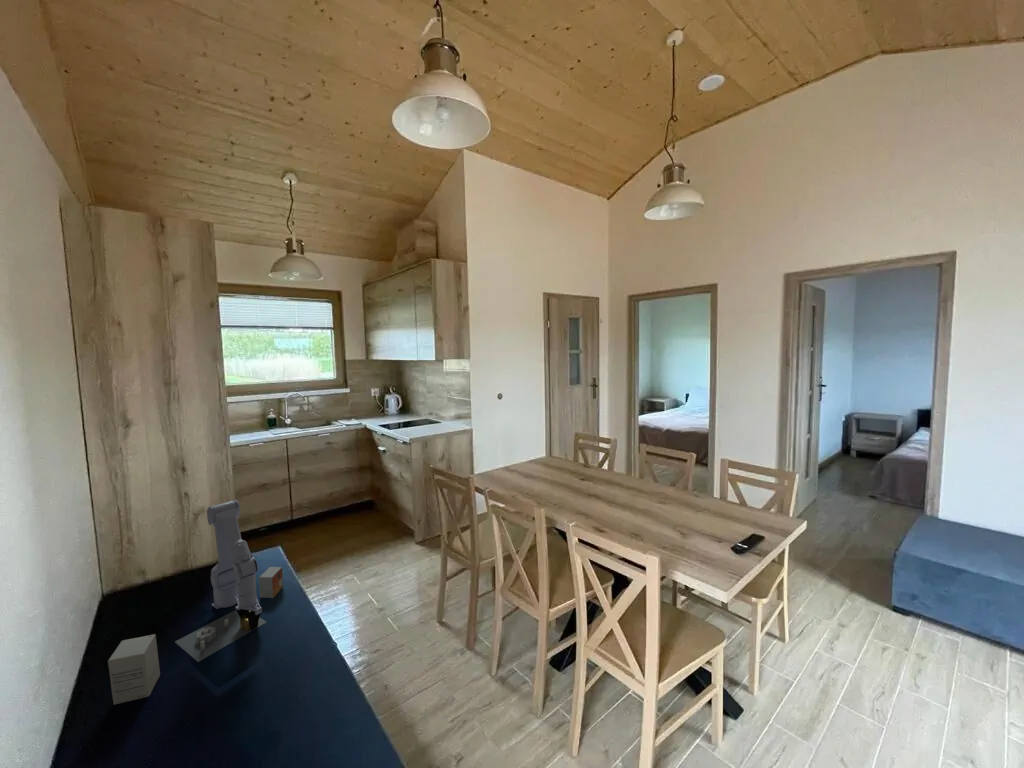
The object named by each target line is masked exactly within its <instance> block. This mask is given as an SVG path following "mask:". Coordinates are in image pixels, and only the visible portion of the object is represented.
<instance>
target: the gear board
mask: <svg viewBox="0 0 1024 768" xmlns="http://www.w3.org/2000/svg"><path fill="white" fill-rule="evenodd" d="M266 623H267V621H266V620H264V619H263V618H262V617H261V616H260V617H259V621H258V625H257V627H256V628H254V629H250V630H249V631H245V630H243V631H242V630H241V628H240V617H239V615H238V613H237V611H236V610H235V609H234V610H233V611H231V612H229V613H227V614H225V615H223V616H221V617H219V618H217V619H215V620H214V621H211V622H210V623H208V624H206V625H204V626H203V627H200V628H198V629H197V630H195V631H193V632H191V633H188V634H186V635H185V636H182V637H181V638H180V639H177V640H175V641H174V643H175V644H176V645H177V646H179V647H180V648H181V649H182V650H183V651H184V652H186V653H187V654H188V655H189V656H190V657H192V658H193V659H194V660H195V661H197V663H199V662H201V661H202V660H204V659H206V658H207V657H210V656H211V655H213V654H214V653H216V652H218V651H220V650H221V649H223V648H225V647H226V646H229V645H230V644H232V643H234V642H235V641H237V640H238V639H240V638H242V637H243V636H246V635H247V634H249V633H251V632H253V631H254V630H256V629H258V628H259V627H261V626H263V625H265V624H266Z"/></svg>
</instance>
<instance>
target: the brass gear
mask: <svg viewBox="0 0 1024 768" xmlns="http://www.w3.org/2000/svg"><path fill="white" fill-rule="evenodd" d="M249 612H250V610H249ZM246 613H248V612H246ZM246 613H244V614H243V615H242V616H241V617H240V628H241V630H242V631H243V630H245V631H249V630H250V629H251V628H250V625H249V621H248V619H247V617H246V616H245V614H246Z"/></svg>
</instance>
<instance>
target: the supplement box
mask: <svg viewBox="0 0 1024 768" xmlns="http://www.w3.org/2000/svg"><path fill="white" fill-rule="evenodd" d="M157 644H158V643H157V636H156V633H154V634H150V635H143V636H140V637H134V638H129V639H123V640H121V641H120V643H119V644H118V646H117V647H116V649H115V650H114V652H113V653H112V654H111V656H110V657H109V659H108V660H107V665H108V671H109V672H108V673H109V679H110V681H109V682H110V688H111V696H112V701H113V702H112V703H113V705H118V704H123V703H126V702H131V701H132V702H133V701H135V700H136V701H137V700H140V699H143V698H147V697H150V695H151V694H152V691H153V690H154V687H155V685H156V684H157V682H158V680H159V678H160V676H161V671H160V670H161V669H160V662H159V653H158V652H159V651H158V645H157Z"/></svg>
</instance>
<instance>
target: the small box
mask: <svg viewBox="0 0 1024 768" xmlns="http://www.w3.org/2000/svg"><path fill="white" fill-rule="evenodd" d="M283 575H284V574H283V567H282V566H280V567H279V566H269V567H268V568H267V569H266V570H265V571H264V572H263V573H262V574H260V576H258V584H259V585H258V586H259V597H260V599H261V598H262V599H267V598H268V599H273V598H275V596H276V595H277V594H279V592H280V591H281V590H282V589H283V588H284V581H283V580H284V579H283V578H284V576H283Z"/></svg>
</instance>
